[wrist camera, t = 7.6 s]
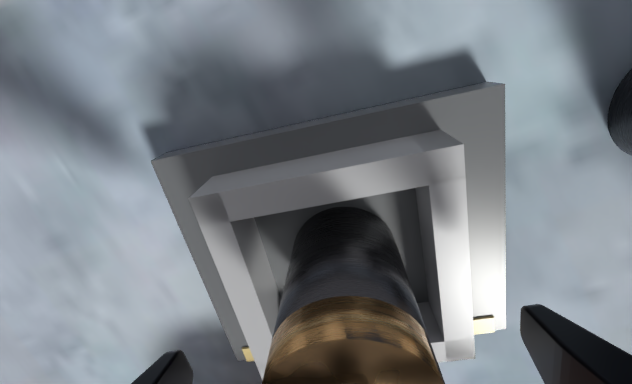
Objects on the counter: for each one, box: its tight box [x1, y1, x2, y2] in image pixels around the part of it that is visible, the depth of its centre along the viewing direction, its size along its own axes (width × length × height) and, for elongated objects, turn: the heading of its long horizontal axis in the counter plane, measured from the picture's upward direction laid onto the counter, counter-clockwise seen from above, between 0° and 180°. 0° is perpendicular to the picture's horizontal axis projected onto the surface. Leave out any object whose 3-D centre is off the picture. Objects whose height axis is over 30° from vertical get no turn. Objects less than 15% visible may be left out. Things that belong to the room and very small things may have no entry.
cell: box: [262, 207, 445, 384], centre depth 9 cm, size 4×4×7 cm
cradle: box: [151, 82, 506, 380], centre depth 12 cm, size 12×10×3 cm
